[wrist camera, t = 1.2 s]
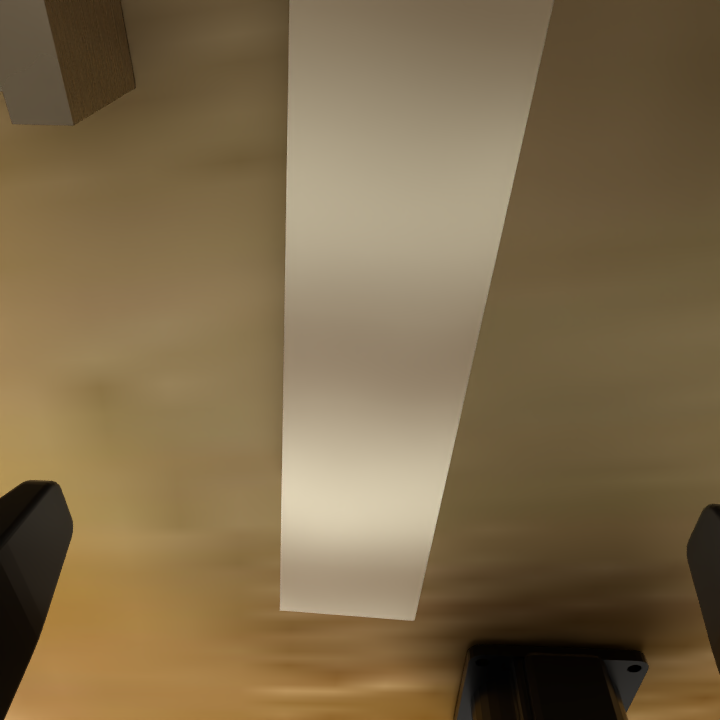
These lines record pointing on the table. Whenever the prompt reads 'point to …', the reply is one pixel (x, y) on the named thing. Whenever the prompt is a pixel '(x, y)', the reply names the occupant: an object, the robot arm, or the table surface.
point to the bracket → (62, 59)
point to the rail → (388, 274)
